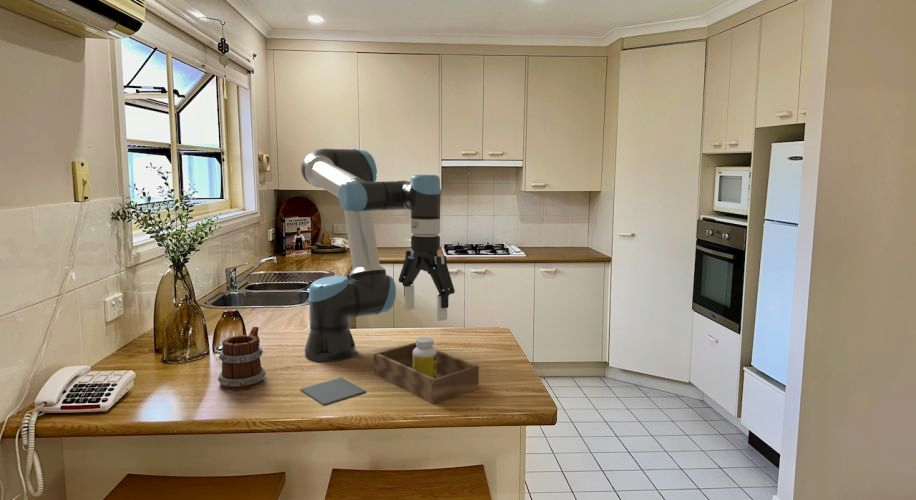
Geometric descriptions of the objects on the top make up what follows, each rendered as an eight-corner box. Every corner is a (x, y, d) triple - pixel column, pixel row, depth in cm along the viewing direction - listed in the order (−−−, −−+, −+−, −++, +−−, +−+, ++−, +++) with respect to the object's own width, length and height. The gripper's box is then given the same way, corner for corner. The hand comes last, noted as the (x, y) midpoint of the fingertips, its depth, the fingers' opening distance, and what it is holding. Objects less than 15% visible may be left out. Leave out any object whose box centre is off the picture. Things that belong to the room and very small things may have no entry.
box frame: (374, 374, 153) (373, 353, 152) (416, 361, 163) (416, 342, 162) (434, 404, 134) (434, 380, 133) (478, 388, 144) (478, 366, 143)
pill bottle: (433, 386, 145) (433, 344, 143) (409, 384, 146) (409, 342, 144) (439, 377, 151) (439, 336, 149) (416, 375, 152) (416, 335, 151)
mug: (206, 390, 140) (209, 331, 141) (235, 379, 154) (237, 325, 155) (250, 393, 139) (252, 333, 139) (275, 381, 153) (277, 327, 154)
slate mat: (300, 390, 142) (300, 388, 142) (341, 378, 150) (341, 377, 150) (323, 405, 133) (323, 403, 133) (366, 392, 141) (365, 390, 141)
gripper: (385, 231, 149) (386, 307, 152) (446, 241, 131) (445, 327, 134) (407, 229, 154) (407, 303, 158) (469, 238, 136) (468, 322, 139)
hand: (425, 314), depth 146 cm, fingers open, 13 cm apart
